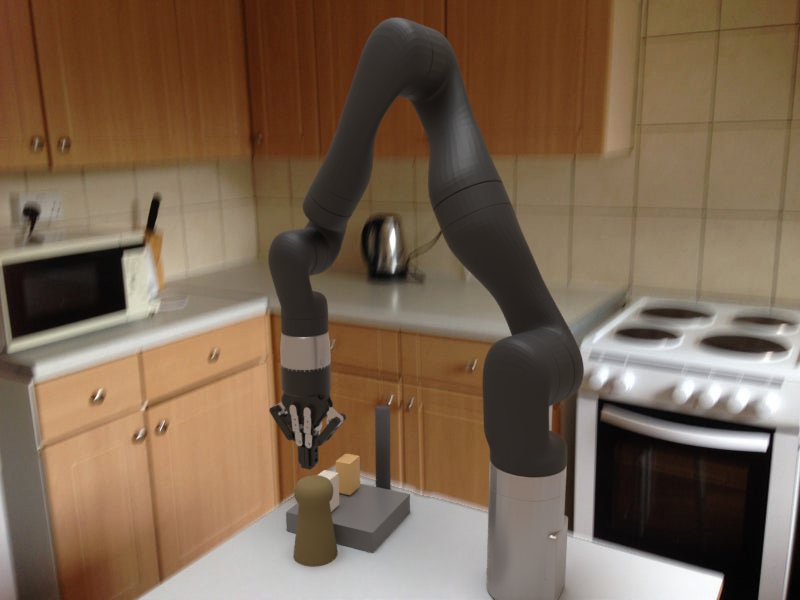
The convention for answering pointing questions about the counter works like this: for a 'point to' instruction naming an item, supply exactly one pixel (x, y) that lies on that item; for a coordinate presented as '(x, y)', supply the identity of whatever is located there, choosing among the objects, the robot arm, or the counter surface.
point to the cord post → (382, 446)
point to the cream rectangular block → (335, 483)
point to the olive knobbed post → (314, 522)
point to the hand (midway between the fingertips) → (308, 466)
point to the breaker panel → (363, 516)
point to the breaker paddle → (348, 473)
